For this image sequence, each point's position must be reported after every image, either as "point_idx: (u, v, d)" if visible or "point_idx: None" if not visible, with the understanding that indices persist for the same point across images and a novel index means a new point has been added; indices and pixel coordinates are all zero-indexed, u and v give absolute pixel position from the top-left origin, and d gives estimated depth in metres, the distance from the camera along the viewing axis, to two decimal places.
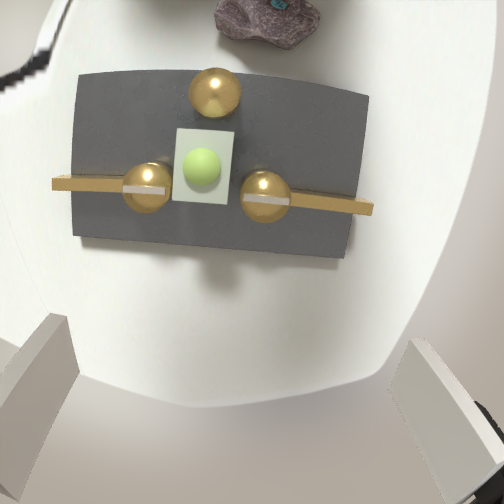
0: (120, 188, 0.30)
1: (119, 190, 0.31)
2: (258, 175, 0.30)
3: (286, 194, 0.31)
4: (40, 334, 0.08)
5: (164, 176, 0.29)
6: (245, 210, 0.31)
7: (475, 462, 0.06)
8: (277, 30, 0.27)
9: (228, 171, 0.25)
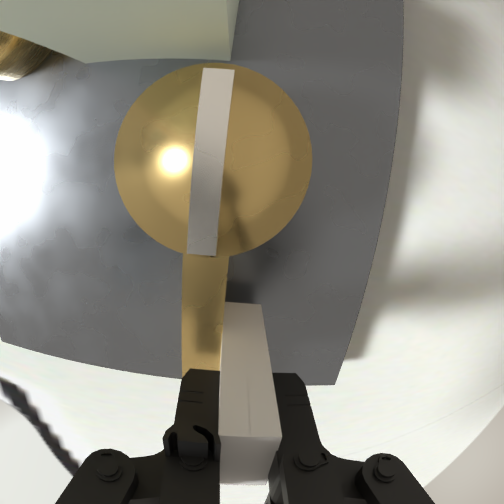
0: (214, 261, 0.10)
1: (221, 266, 0.10)
2: None
3: None
4: (232, 320, 0.11)
5: (164, 81, 0.07)
6: None
7: None
8: None
9: None
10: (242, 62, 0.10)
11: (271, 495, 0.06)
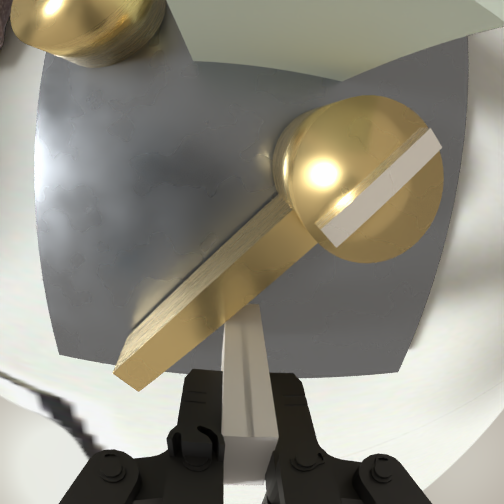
0: (296, 245, 0.10)
1: (297, 252, 0.10)
2: None
3: None
4: (234, 321, 0.11)
5: (395, 104, 0.08)
6: None
7: None
8: None
9: None
10: (352, 84, 0.11)
11: (268, 495, 0.06)
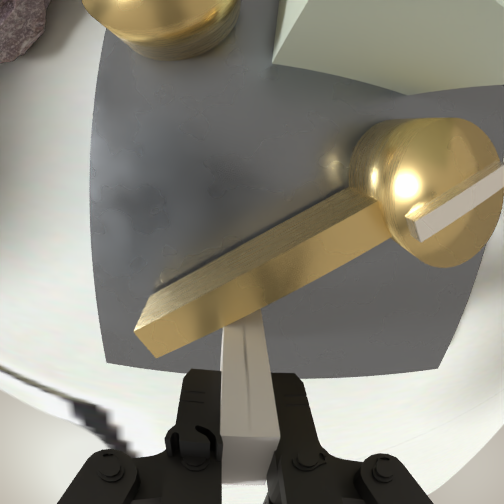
0: (371, 235, 0.10)
1: (370, 242, 0.10)
2: None
3: None
4: None
5: (483, 135, 0.08)
6: None
7: None
8: None
9: None
10: (416, 98, 0.11)
11: (269, 495, 0.06)
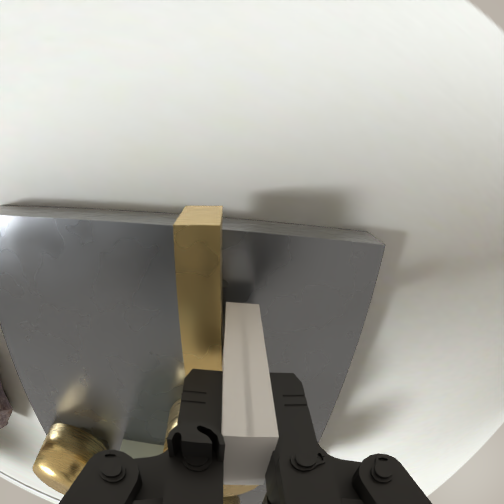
0: None
1: None
2: None
3: None
4: (234, 321, 0.11)
5: None
6: (240, 492, 0.13)
7: None
8: None
9: None
10: None
11: (268, 495, 0.06)
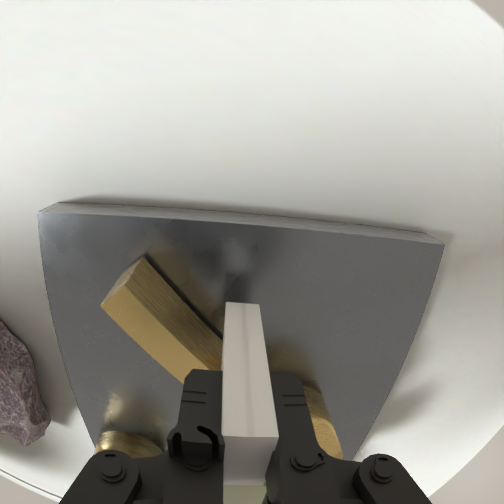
0: None
1: None
2: None
3: None
4: (234, 321, 0.11)
5: None
6: None
7: None
8: (9, 397, 0.14)
9: None
10: None
11: (268, 495, 0.06)
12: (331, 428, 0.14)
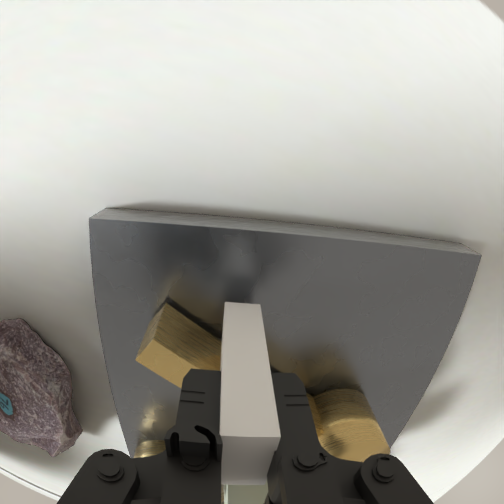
0: None
1: None
2: None
3: None
4: (233, 321, 0.11)
5: None
6: None
7: None
8: (44, 411, 0.15)
9: None
10: None
11: (270, 495, 0.06)
12: (375, 425, 0.14)
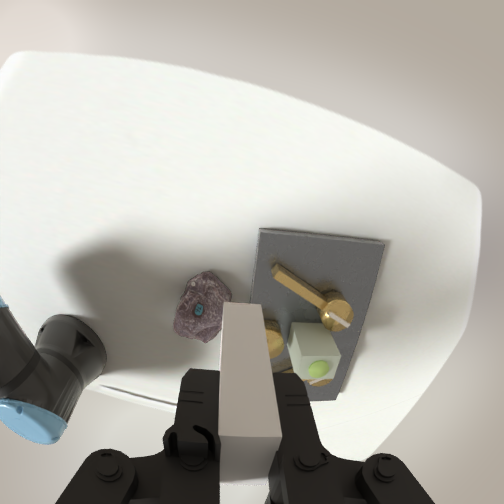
0: (303, 379, 0.52)
1: (303, 380, 0.52)
2: (333, 330, 0.47)
3: (326, 315, 0.46)
4: (232, 320, 0.11)
5: None
6: (352, 316, 0.46)
7: None
8: (220, 309, 0.48)
9: (323, 356, 0.43)
10: None
11: (271, 495, 0.06)
12: (346, 301, 0.47)
